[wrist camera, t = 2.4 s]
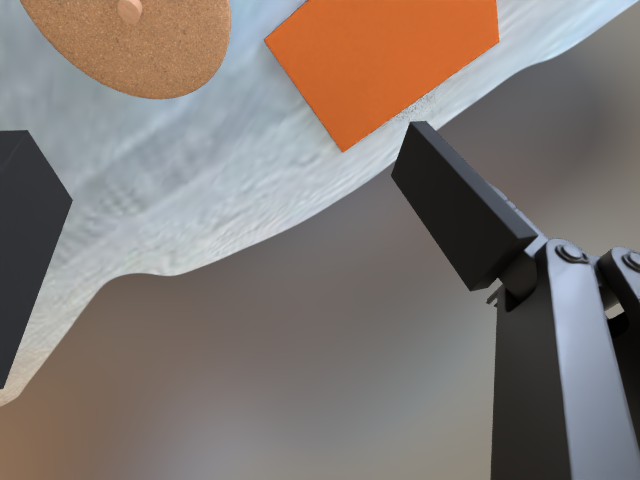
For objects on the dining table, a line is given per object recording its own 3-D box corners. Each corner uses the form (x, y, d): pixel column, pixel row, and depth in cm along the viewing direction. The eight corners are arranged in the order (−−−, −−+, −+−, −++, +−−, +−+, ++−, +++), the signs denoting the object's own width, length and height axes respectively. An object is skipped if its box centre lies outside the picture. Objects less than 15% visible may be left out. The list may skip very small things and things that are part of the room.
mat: (341, 151, 37) (342, 152, 37) (263, 39, 26) (264, 41, 26) (497, 40, 32) (499, 41, 32) (480, -157, 21) (484, -158, 21)
